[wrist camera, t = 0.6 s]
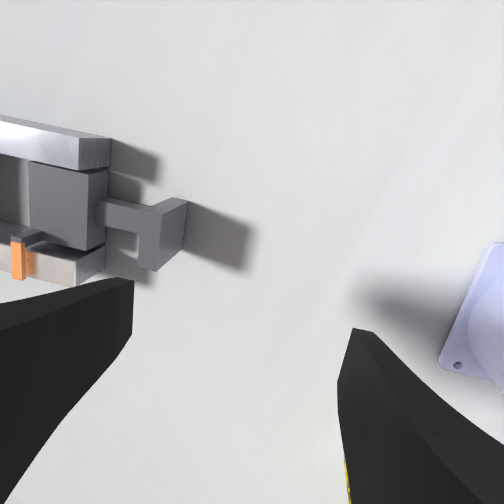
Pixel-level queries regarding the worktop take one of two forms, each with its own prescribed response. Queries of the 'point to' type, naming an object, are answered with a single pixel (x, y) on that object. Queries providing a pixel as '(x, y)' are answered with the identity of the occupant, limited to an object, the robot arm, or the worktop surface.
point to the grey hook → (94, 217)
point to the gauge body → (64, 155)
